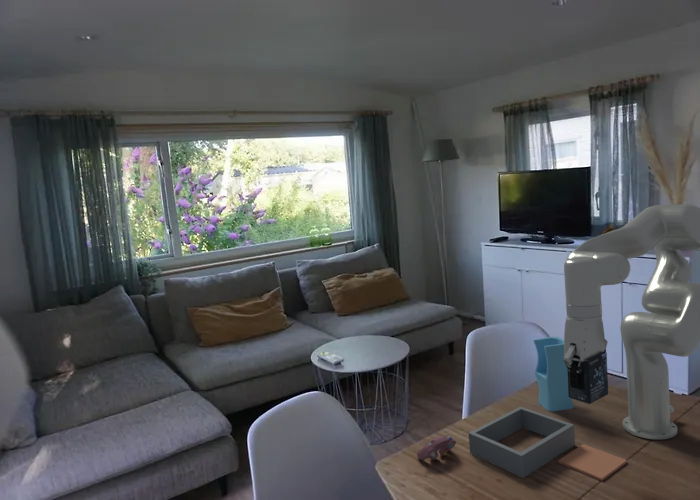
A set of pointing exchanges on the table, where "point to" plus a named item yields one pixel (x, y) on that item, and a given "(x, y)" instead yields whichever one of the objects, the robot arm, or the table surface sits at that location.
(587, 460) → the mat
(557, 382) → the vase
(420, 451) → the video game controller
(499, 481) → the table surface
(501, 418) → the enclosure
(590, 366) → the box
